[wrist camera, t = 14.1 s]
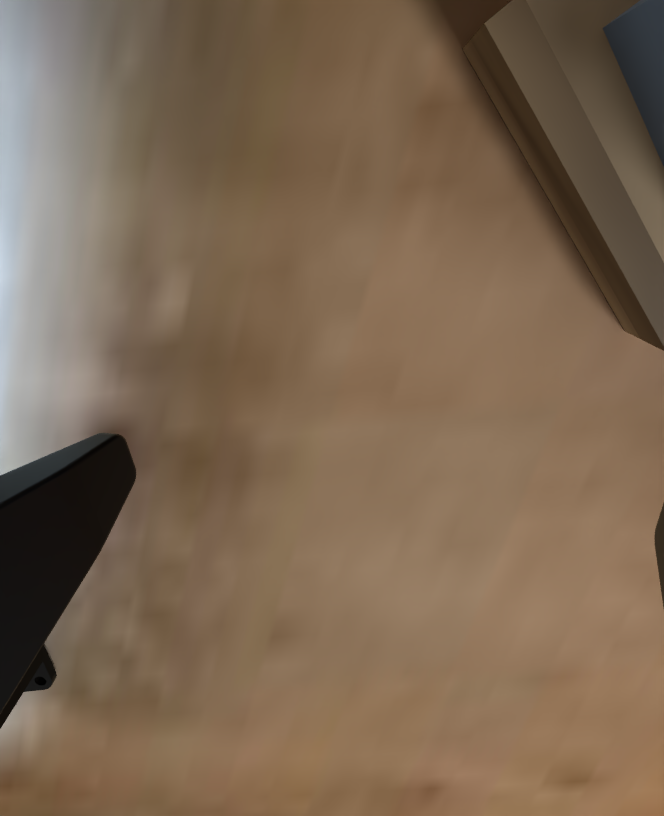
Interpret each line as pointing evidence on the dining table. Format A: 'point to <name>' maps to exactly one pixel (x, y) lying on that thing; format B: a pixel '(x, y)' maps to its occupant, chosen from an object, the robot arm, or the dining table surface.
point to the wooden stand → (583, 143)
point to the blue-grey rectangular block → (643, 61)
